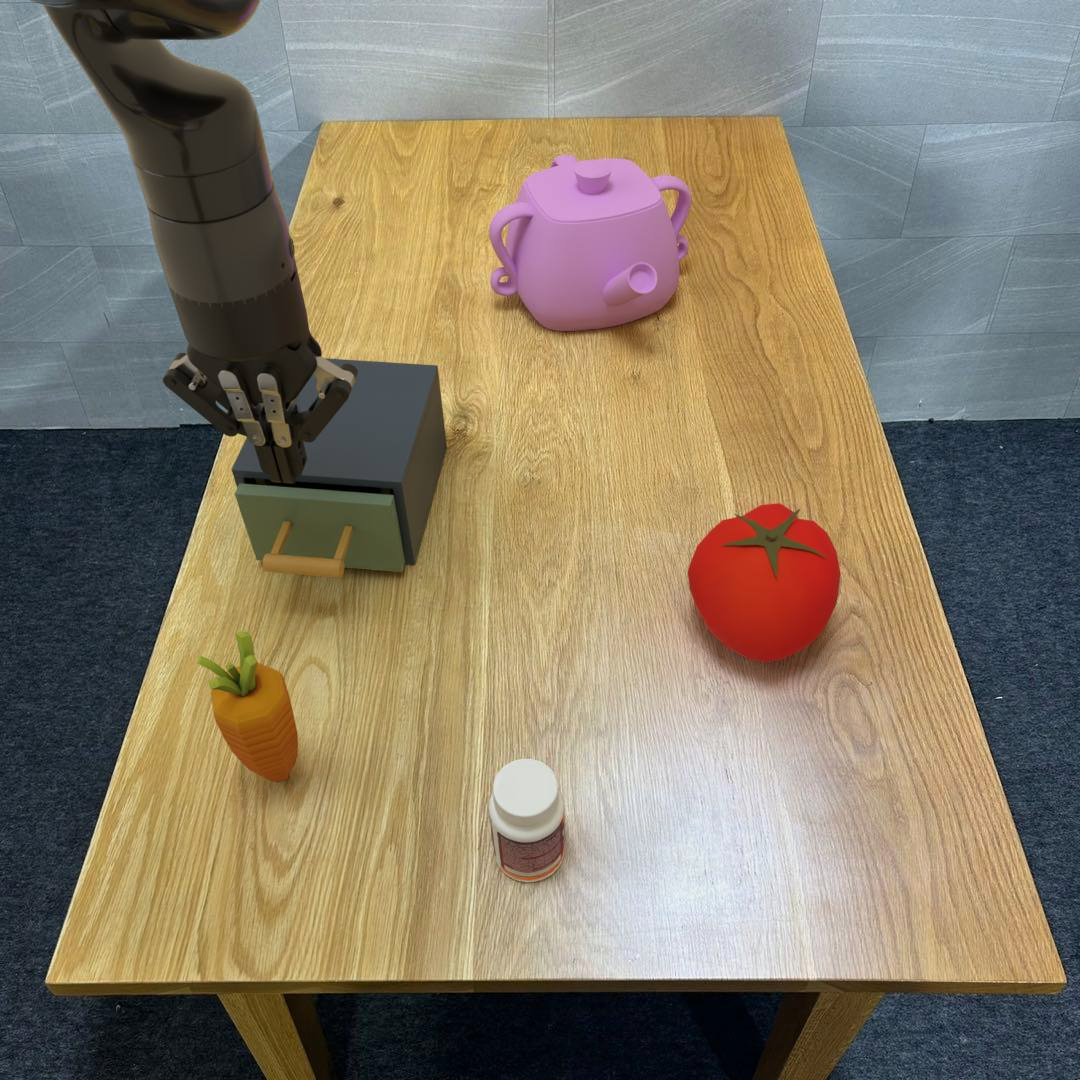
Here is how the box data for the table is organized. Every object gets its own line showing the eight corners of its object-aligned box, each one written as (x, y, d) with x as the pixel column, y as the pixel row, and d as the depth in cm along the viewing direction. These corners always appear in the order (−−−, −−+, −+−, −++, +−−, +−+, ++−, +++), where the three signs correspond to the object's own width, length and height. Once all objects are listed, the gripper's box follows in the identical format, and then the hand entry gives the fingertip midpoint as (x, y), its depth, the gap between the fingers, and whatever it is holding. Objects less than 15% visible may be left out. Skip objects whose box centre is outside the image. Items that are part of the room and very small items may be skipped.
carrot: (269, 824, 70) (214, 699, 60) (232, 775, 73) (173, 648, 62) (330, 780, 73) (288, 653, 62) (292, 735, 75) (246, 605, 64)
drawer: (389, 619, 81) (375, 553, 76) (237, 606, 82) (212, 539, 77) (434, 460, 94) (425, 393, 88) (301, 451, 95) (284, 384, 89)
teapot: (562, 227, 122) (561, 107, 112) (723, 277, 114) (739, 153, 104) (470, 308, 111) (460, 184, 101) (641, 369, 103) (650, 242, 93)
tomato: (824, 568, 85) (849, 478, 78) (827, 696, 77) (855, 609, 69) (688, 553, 87) (699, 463, 79) (675, 677, 78) (687, 589, 71)
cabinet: (415, 565, 86) (401, 482, 79) (257, 552, 88) (230, 469, 81) (447, 448, 96) (437, 365, 89) (305, 437, 97) (285, 355, 90)
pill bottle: (579, 858, 68) (580, 795, 62) (519, 898, 67) (514, 837, 60) (538, 804, 71) (536, 739, 65) (480, 841, 69) (471, 777, 63)
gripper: (96, 291, 59) (179, 505, 72) (321, 304, 58) (366, 519, 71) (146, 223, 64) (215, 433, 77) (354, 233, 63) (390, 446, 76)
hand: (287, 474), depth 74 cm, fingers closed
